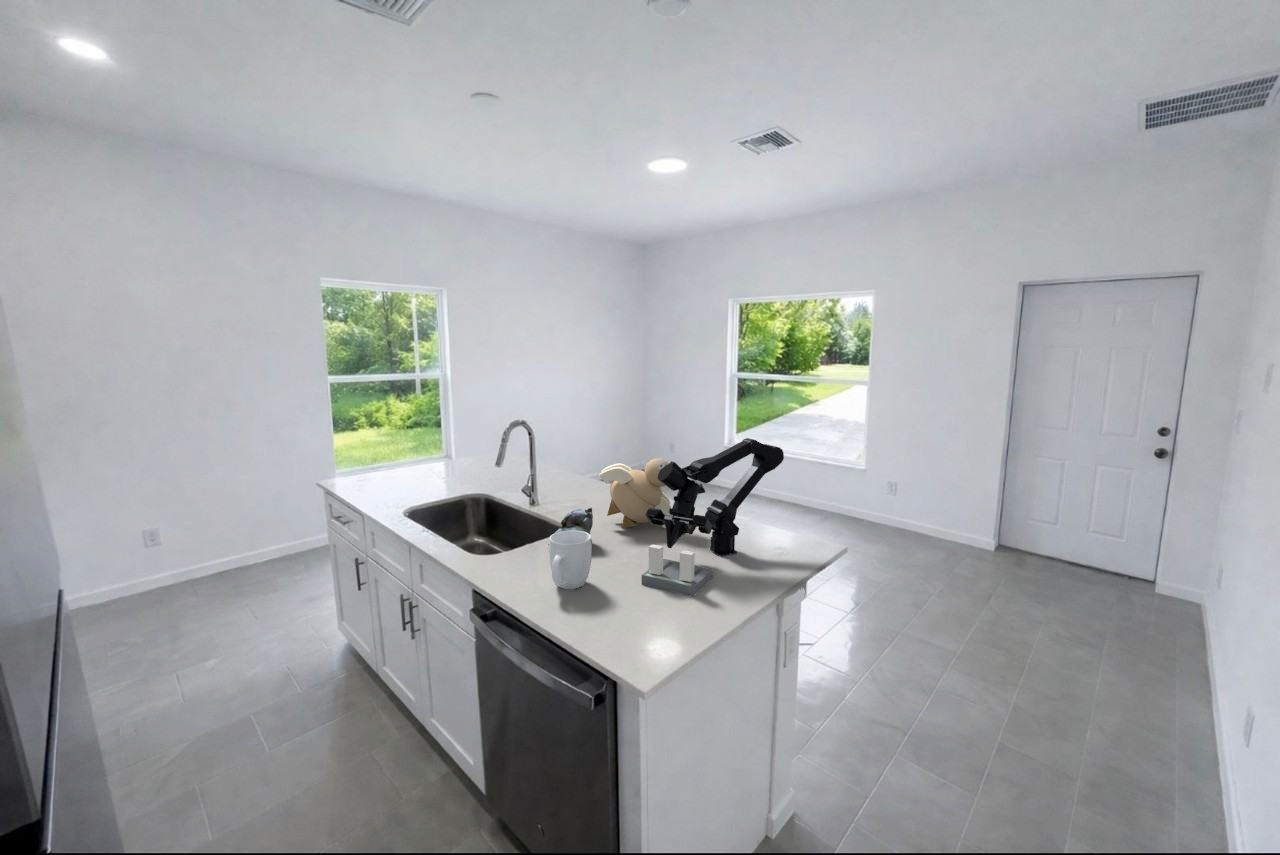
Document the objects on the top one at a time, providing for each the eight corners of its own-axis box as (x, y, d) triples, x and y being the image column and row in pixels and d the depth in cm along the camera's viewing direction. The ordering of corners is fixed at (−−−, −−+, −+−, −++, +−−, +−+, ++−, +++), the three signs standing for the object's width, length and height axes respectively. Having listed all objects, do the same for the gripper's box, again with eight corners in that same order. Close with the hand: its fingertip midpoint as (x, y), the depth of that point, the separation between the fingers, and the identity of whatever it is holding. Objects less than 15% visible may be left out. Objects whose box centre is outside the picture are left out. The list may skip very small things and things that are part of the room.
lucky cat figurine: (542, 545, 171) (551, 502, 176) (574, 553, 178) (582, 511, 182) (565, 544, 160) (574, 499, 164) (598, 553, 166) (606, 508, 171)
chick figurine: (634, 437, 177) (636, 428, 199) (579, 499, 180) (587, 483, 202) (702, 496, 179) (696, 480, 201) (646, 557, 182) (646, 535, 205)
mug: (575, 602, 132) (574, 551, 130) (535, 596, 136) (533, 546, 134) (598, 578, 146) (597, 532, 145) (561, 573, 150) (560, 528, 148)
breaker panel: (664, 567, 154) (664, 558, 154) (713, 577, 147) (713, 568, 146) (641, 583, 143) (641, 574, 143) (693, 596, 136) (693, 586, 135)
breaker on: (682, 576, 140) (683, 550, 139) (694, 579, 139) (694, 552, 138) (679, 579, 139) (679, 552, 138) (690, 582, 137) (691, 555, 136)
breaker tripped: (652, 570, 145) (652, 544, 144) (663, 572, 143) (663, 546, 142) (648, 572, 143) (648, 546, 142) (659, 575, 141) (659, 548, 140)
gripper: (722, 517, 158) (708, 566, 150) (665, 508, 167) (649, 554, 159) (713, 497, 150) (697, 548, 142) (653, 489, 159) (635, 537, 151)
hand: (669, 547), depth 149 cm, fingers closed
